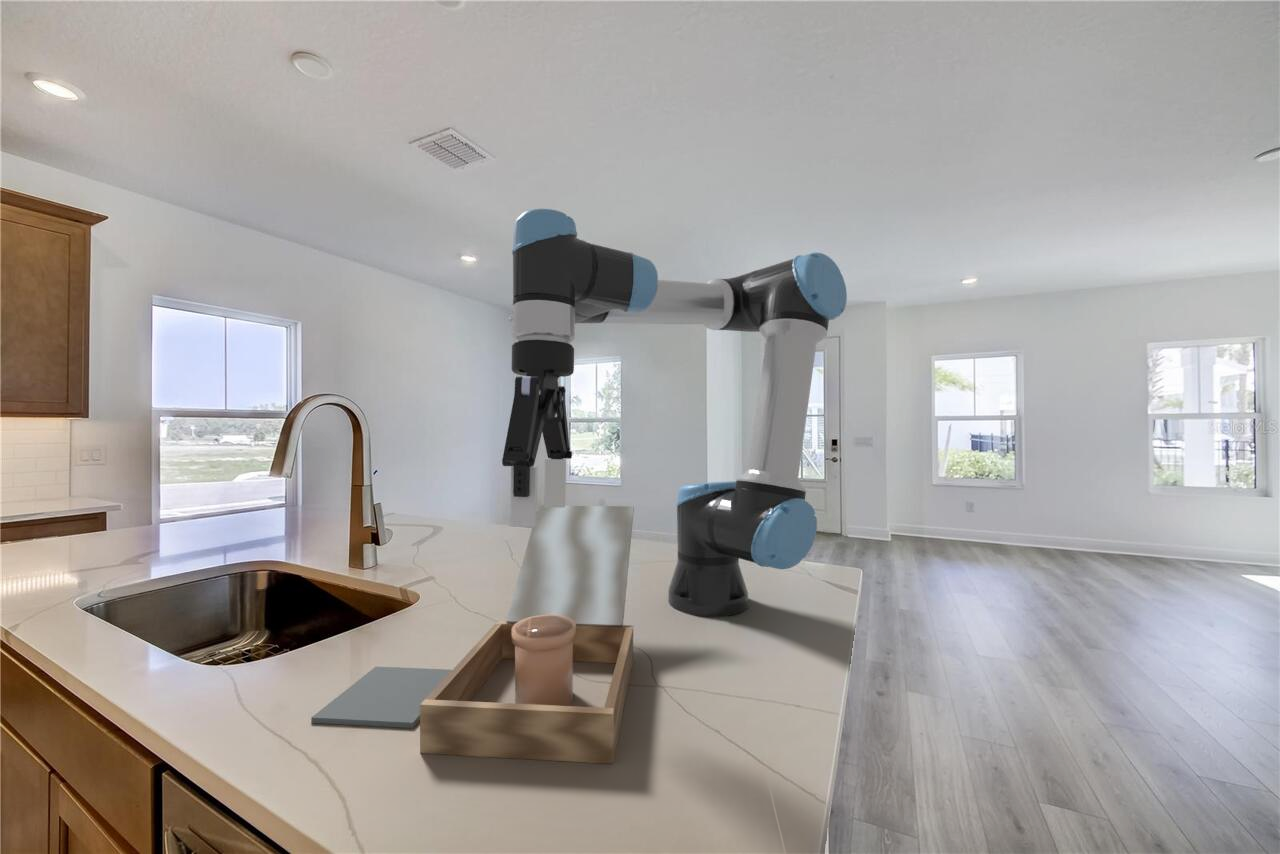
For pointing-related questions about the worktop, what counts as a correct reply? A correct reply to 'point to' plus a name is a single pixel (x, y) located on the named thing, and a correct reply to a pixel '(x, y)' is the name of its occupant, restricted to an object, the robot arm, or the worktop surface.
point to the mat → (383, 698)
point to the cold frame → (595, 599)
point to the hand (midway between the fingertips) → (540, 515)
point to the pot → (544, 660)
